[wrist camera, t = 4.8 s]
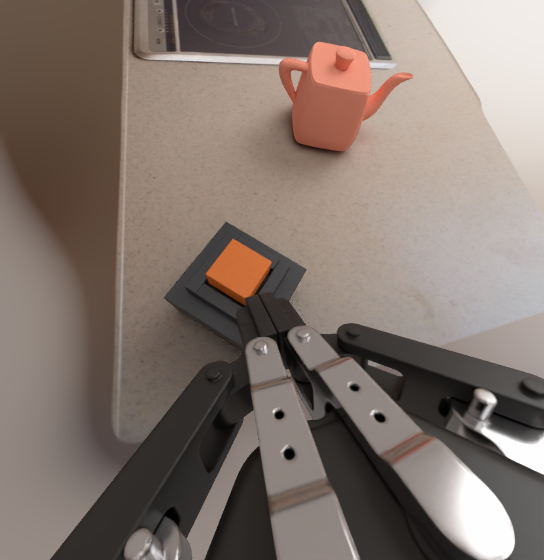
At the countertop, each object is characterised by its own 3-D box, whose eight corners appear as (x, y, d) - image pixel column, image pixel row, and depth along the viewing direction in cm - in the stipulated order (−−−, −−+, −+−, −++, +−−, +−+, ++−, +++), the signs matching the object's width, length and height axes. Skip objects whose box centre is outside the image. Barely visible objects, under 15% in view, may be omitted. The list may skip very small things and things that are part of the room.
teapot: (275, 96, 41) (286, 11, 31) (373, 116, 42) (414, 42, 32) (268, 144, 37) (279, 65, 27) (377, 164, 38) (425, 96, 28)
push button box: (253, 357, 26) (257, 355, 19) (177, 309, 26) (157, 291, 20) (295, 285, 29) (312, 262, 23) (228, 244, 30) (225, 210, 23)
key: (246, 306, 21) (247, 300, 19) (208, 283, 21) (205, 274, 19) (269, 271, 22) (272, 261, 20) (233, 250, 22) (233, 238, 20)
